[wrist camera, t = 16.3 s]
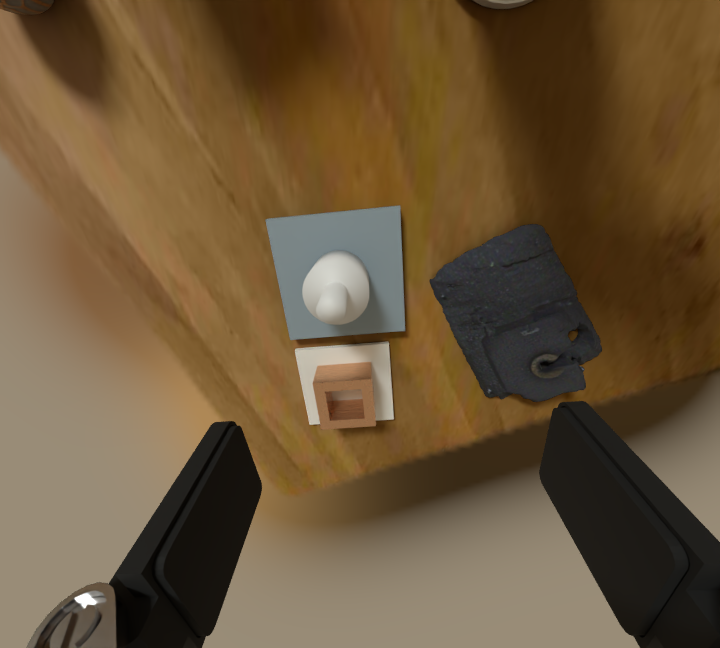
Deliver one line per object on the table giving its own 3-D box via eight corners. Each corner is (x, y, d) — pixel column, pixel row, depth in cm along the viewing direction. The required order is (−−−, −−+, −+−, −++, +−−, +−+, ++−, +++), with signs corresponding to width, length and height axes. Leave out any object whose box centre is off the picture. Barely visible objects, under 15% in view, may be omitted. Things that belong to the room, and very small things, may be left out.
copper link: (371, 361, 39) (371, 379, 36) (375, 405, 42) (376, 426, 38) (317, 365, 40) (312, 383, 36) (325, 409, 42) (321, 429, 39)
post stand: (398, 205, 32) (414, 211, 22) (403, 325, 38) (418, 377, 27) (269, 218, 33) (224, 230, 22) (292, 334, 39) (265, 388, 28)
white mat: (388, 341, 39) (388, 343, 38) (393, 416, 43) (393, 419, 43) (295, 348, 39) (294, 350, 39) (310, 421, 44) (309, 424, 43)
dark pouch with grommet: (548, 201, 32) (576, 202, 28) (600, 357, 40) (629, 377, 35) (419, 273, 36) (426, 284, 31) (489, 405, 43) (503, 429, 39)
